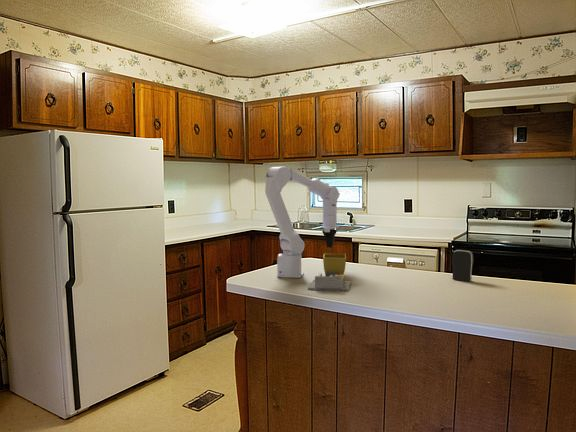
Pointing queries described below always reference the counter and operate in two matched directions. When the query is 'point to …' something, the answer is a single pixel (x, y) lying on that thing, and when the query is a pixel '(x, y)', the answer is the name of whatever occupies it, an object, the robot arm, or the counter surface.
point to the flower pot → (334, 262)
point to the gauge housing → (329, 283)
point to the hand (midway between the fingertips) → (329, 247)
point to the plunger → (333, 274)
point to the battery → (462, 265)
